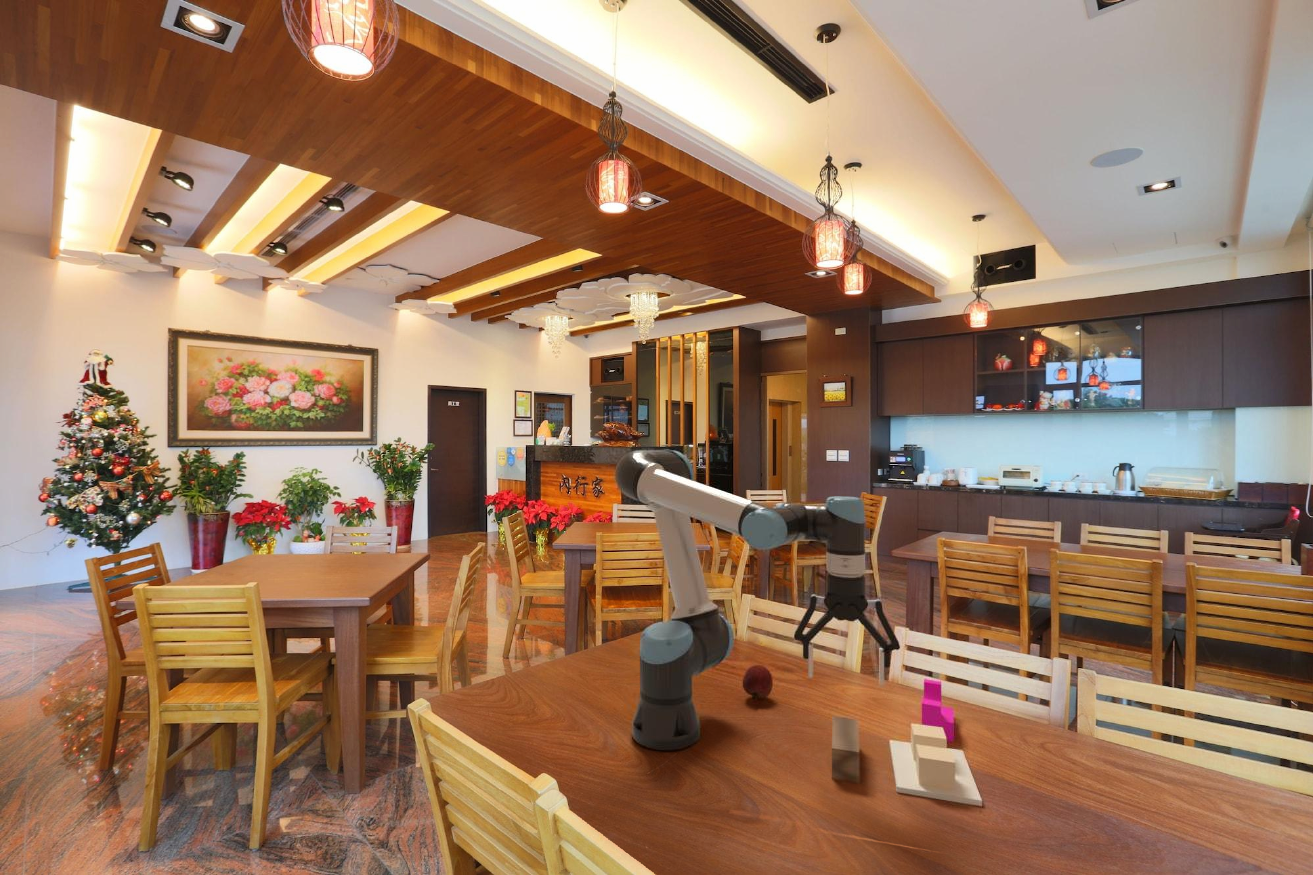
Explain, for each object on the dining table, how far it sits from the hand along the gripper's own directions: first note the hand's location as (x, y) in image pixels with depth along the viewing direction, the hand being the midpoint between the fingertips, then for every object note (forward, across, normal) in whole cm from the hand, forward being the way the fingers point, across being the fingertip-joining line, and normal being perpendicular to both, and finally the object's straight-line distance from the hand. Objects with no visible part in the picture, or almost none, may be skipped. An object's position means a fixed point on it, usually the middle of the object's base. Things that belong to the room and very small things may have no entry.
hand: (845, 679), depth 119 cm
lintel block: (+17, 0, 0) cm, 17 cm away
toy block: (+17, +20, +22) cm, 35 cm away
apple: (+17, -21, +25) cm, 37 cm away
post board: (+16, +16, +1) cm, 23 cm away
